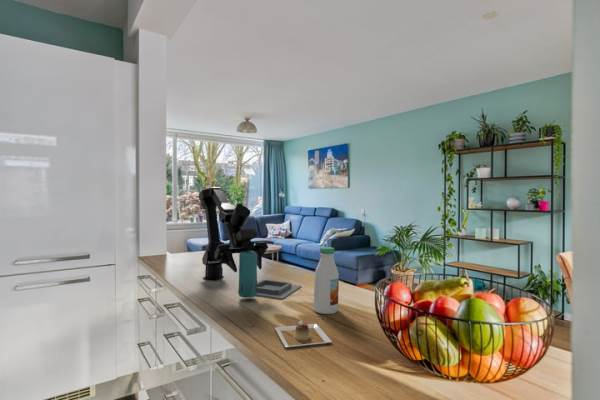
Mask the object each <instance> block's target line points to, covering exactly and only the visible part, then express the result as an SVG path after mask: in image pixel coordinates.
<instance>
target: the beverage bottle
mask: <svg viewBox="0 0 600 400" xmlns="http://www.w3.org/2000/svg"><path fill="white" fill-rule="evenodd" d="M254 246H255V242H254V241H251V242H243V246H242V248H244V249H252V248H254ZM238 256H239V260H238V261H239V264H238V288H237V290H238V291H239V292H238V291H237V293H238V296H239V297H240V298H245V299H248V298H255V297H257V296H256V294H257V282H258V266H257V254H256V253H255V252H254V251H243V252H241V253H239V254H238Z"/></svg>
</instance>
